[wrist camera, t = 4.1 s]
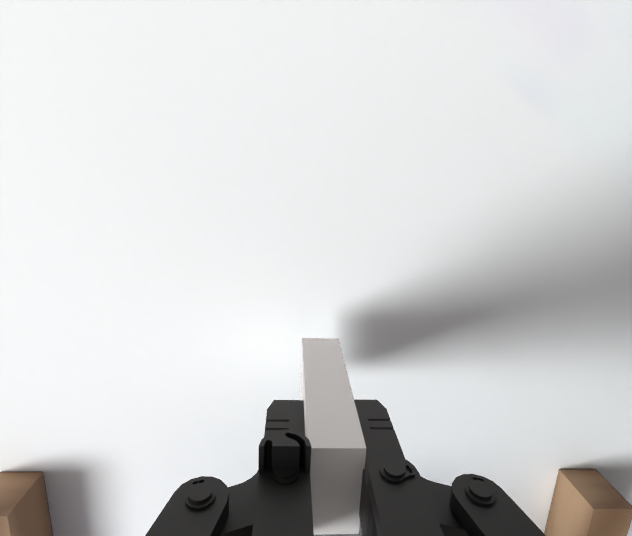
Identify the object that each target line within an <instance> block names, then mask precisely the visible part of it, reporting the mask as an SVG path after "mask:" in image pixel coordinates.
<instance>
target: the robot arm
mask: <svg viewBox="0 0 632 536" xmlns="http://www.w3.org/2000/svg"><path fill="white" fill-rule="evenodd" d="M360 522H361V527H362V533H363V536H546V535H545V534H544V533H543V532H542V531H541V530H540V529H539V528H538V527H537V526H536V525H535V524H534V523H533V522H532V520H531V519H530V518H529V517H528V516H527V515H526V514H525V513H524V512H523V511H522V510H521V509H520V508H519V507H518V506H517V504H516V503H515V502H514V501H513V500H512V499H511V498H510V497H509V496H508V495H507V494H506V493H505V492H504V491H503V490H502V489H501V488H500V487H499V486H498V485H497V484H495V483H494V482H493V481H491V480H489V479H487V478H485V477H482V476H478V475H474V474H463V475H461V476H458V477H456V478H455V480H454V481H453V483H452V487H451V486H447V485H443V484H439V483H435V482H432V481H429V480H426V479H425V478H423V477H421V476H420V474H419V472H418V471H417V469H416V468H415V466H414V465H412V464H411V463H410V462H409V461H407V460H405V457H404V455H403V452H402V449H401V447H400V444H399V441H398V439H397V436H396V433H395V431H394V430H393V425H392V423H391V421H390V417H389V415H388V412H387V410H386V408H385V407H384V406H383V405H382V404H381V403H380V402H379V401H378V400H354V398H353V394H352V390H351V386H350V382H349V378H348V374H347V370H346V366H345V362H344V359H343V355H342V351H341V347H340V343H339V339H319V338H302V356H301V382H300V400H274V401H273V402H272V404H271V405H270V406H269V408H268V409H267V416H266V426H265V435H264V438H263V439H262V440H261V442H260V445H259V470H258V472H257V473H256V474H255V475H254V476H253V477H252V478H250V479H249V480H247V481H246V482H243V483H241V484H238V485H234V486H231V487H227V486H226V485H225V484H224V483H223V482H222V481H221V480H220V479H217V478H214V477H203V476H202V477H198V478H194V479H191V480H189V481H187V482H186V483H184V484H182V485H181V486H180V487H179V488H178V489H177V490H176V491H175V492H174V494H173V495H172V497H171V498H170V500H169V501H168V503H167V504H166V506H165V507H164V509H163V510H162V512H161V513H160V515H159V516H158V518H157V519H156V521H155V522H154V524H153V525H152V527H151V528H150V530H149V531H148V533H147V534H146V536H314V535H326V534H359V526H360Z"/></svg>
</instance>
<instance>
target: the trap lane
mask: <svg viewBox="0 0 632 536" xmlns="http://www.w3.org/2000/svg"><path fill="white" fill-rule="evenodd" d="M631 519H632V506H631V505H630V504H629V502H628V501H627V500H626V499H625V498H624V497H623V496H622V495H621V494H620V493H619V492H618V491H617V490H616V489H615V488H614V487H613V486H612V485H611V484H610V483H609V482H608V481H607V480H606V479H605V478H604V477H603V476H602V475H601V474H600V473H599V472H598V471H597V470H596V469H559V473H558V477H557V481H556V486H555V490H554V494H553V499H552V503H551V507H550V512H549V516H548V520H547V525H546V529H545V535H546V536H627V533H628V530H629V526H630V523H631ZM0 536H53V534H52V528H51V521H50V515H49V508H48V502H47V495H46V489H45V482H44V476H43V472H0Z"/></svg>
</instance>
